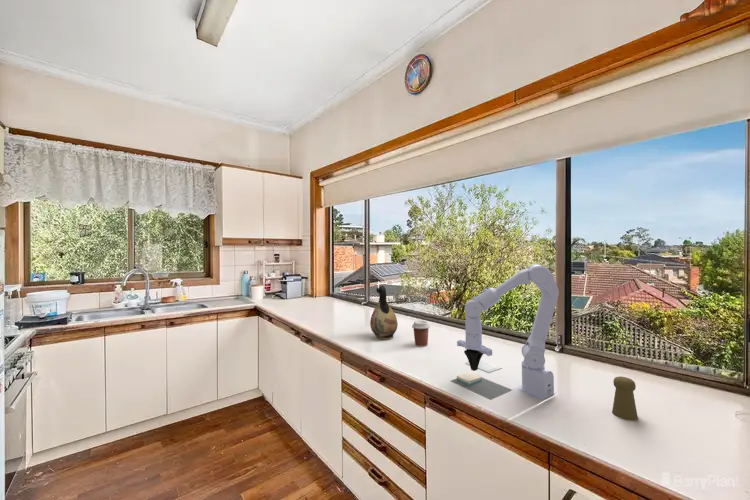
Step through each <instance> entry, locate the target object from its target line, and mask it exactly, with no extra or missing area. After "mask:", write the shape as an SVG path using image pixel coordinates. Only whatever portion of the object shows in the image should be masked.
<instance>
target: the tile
mask: <svg viewBox="0 0 750 500" xmlns="http://www.w3.org/2000/svg"><path fill="white" fill-rule="evenodd" d="M456 378H457V380H458V381H460V382H462V383H464V384H466V385H469V386H470V385H473V384H476V383H478V382H481V381H482V378H483V376H482V375H479V374H477V373H473V372H471V371H467V372H464V373H462V374H458V375H456Z"/></svg>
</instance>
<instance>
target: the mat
mask: <svg viewBox="0 0 750 500" xmlns="http://www.w3.org/2000/svg"><path fill="white" fill-rule="evenodd" d="M450 382H452V383H453V384H455V385H458V386H460V387H462V388H465V389H467V390H468V391H471V392H473V393H475V394H476V395H477V394H478V395H480V396H482V397H484V398H486V399H488V400H490V401H491V400H494V399H496V398H498V397H500V396H502V395H505V394H507V393H509V392H511V391H513V389H511V388H510V387H506V386H504V385H501V384H499V383H497V382H494V381H492V380H490V379H487V378H484V377H482V381H481V382H478V383H476V384H473V385H470V386H469V385H466V384H464V383H462V382H460V381H458V380H457V377H456V378H454V379H451V380H450Z"/></svg>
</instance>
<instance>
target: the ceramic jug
mask: <svg viewBox="0 0 750 500" xmlns="http://www.w3.org/2000/svg"><path fill="white" fill-rule="evenodd" d="M375 290H376V293H377V294H378V295H379V298H378V302H377V304H376V306H375V307H374V309H373V311H372V313H371V317H370V321H369V326H370V329H371V332H372V333H373V335H375V336H376V338H377V339H378V340H381V341H382V340H383V341H388V340H390V339H393V338H394V334H395V333H396V332H397V329H398V320H397V315H396V313H395V312H394V310H393V309H392V307H391V306H390V304H389V303H388V302H387V291H386V287H385V286H384V285H380V286H378V287H376V289H375Z"/></svg>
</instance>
